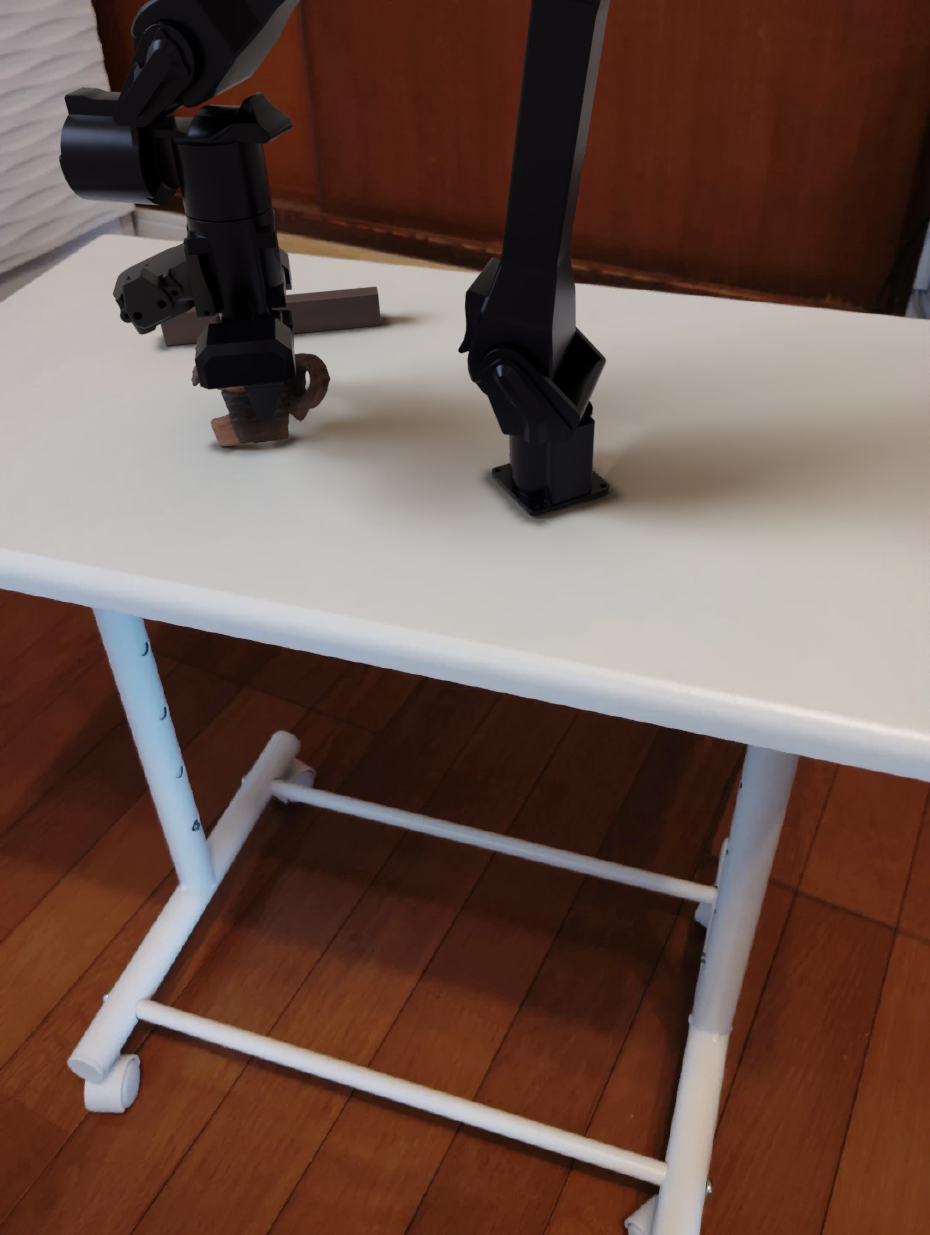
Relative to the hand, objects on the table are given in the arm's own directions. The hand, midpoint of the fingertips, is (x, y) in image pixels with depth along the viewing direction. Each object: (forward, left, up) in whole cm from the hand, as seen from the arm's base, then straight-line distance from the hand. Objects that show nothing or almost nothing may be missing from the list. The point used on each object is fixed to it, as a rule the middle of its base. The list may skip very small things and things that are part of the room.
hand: (266, 418), depth 77 cm
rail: (+21, -7, -3) cm, 22 cm away
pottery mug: (+5, -1, -3) cm, 5 cm away
